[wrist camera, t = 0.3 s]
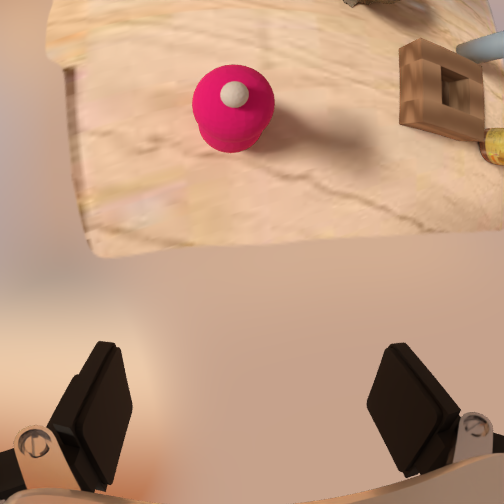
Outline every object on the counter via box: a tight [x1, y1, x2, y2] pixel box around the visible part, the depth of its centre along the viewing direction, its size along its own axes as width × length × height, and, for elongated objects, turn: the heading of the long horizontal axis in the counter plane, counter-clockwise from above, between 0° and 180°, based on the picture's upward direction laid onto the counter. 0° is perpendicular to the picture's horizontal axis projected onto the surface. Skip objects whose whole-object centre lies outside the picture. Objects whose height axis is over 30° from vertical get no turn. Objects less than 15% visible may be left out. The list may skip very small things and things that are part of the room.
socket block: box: [399, 38, 484, 142], centre depth 33 cm, size 12×12×6 cm
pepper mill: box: [192, 65, 275, 153], centre depth 26 cm, size 7×7×20 cm
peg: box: [456, 31, 504, 64], centre depth 28 cm, size 4×4×12 cm
